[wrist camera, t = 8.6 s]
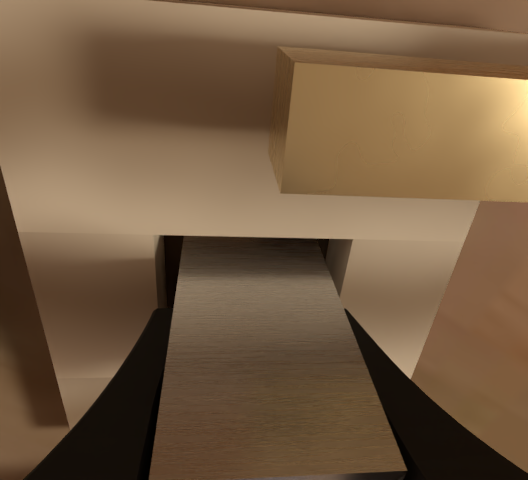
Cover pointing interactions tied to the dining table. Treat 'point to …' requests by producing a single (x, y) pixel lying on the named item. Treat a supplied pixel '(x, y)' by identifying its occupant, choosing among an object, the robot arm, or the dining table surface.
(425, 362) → the dining table surface
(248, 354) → the peg
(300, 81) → the tan headed bar
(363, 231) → the socket block
